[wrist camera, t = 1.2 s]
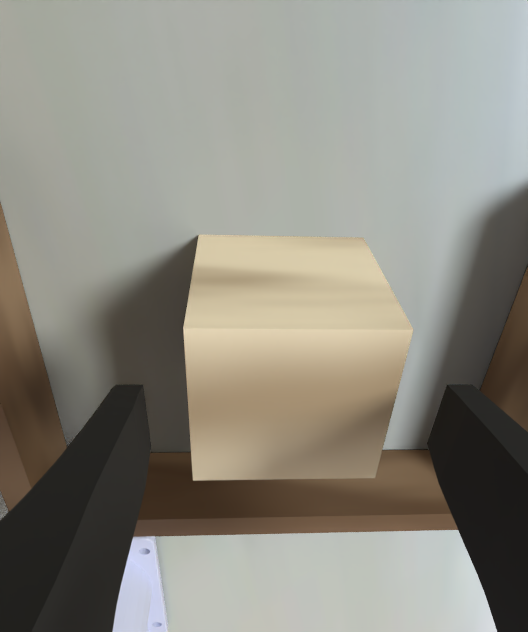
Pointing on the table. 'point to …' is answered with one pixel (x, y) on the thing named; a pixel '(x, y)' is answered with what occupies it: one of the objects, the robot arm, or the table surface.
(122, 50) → the table surface
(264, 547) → the table surface
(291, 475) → the maple block
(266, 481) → the open walnut frame
